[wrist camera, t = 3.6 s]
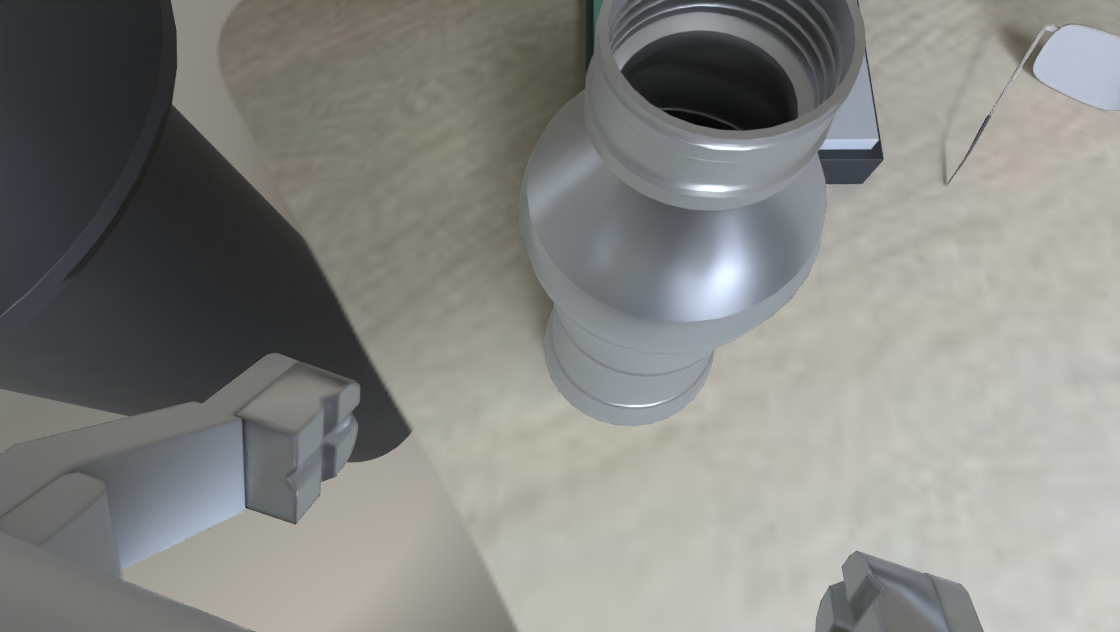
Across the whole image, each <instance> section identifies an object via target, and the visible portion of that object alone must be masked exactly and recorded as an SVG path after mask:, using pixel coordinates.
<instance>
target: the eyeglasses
mask: <svg viewBox="0 0 1120 632" xmlns="http://www.w3.org/2000/svg"><path fill="white" fill-rule="evenodd" d="M1045 30H1048V31H1050V32H1053V34H1052V36H1051V37H1050V38H1049V39H1048V40H1047V42H1046V43H1045V44H1044V46H1043V48H1042V49H1041V51H1040V52H1039V54H1038V56H1037V58H1036V60H1035V62H1034V65H1033V72H1034V74H1035V76H1036V77H1037V78H1038V79H1039V80H1040V81H1042V82H1043V83H1044V84H1046V85H1048V86H1049V87H1051V88H1053V89H1055V90H1057V91H1059V92H1061V93H1063V94H1065V95H1067V96H1069V97H1071V98H1073V99H1076V100H1078V101H1081V102H1083V103H1086V104H1088V105H1091V106H1094V107H1096V108H1099V109H1103V110H1106V111H1120V37H1119V36H1116V35H1114V34H1111V33H1108V32H1105V31H1102V30H1099V29H1096V28H1093V27H1090V26H1086V25H1081V24H1067V25H1064V26H1062V27H1061V28H1060V27H1058V26H1055V25H1052V24H1048V25H1046V26H1044V27H1043V28H1042V29H1041V30H1040V32H1039V33H1038V34H1037V36H1036V37H1035V39H1034V41H1033V42H1032V44H1031V46H1030V47H1029V49H1028V51H1027V52H1026V54H1025V56H1024V57H1023V59H1022V61H1021V62H1020V64H1019V66H1018V67H1017V69H1016V71H1015V72H1014V74H1013V76H1012V77H1011V79H1010V81H1009V82H1008V84H1007V86H1006V87H1005V89H1004V91H1003V92H1002V94H1001V96H1000V97H999V99H998V101H997V102H996V104H995V106H994V107H993V109H992V111H991V112H990V114H989V115H988V116H987V117H986V119H985V121H984V123H983V124H982V126H981V128H980V130H979V132H978V134H977V135H976V137H975V139H974V141H973V143H972V145H971V147H970V149H969V151H968V153H967V154H966V156H965V158H964V159H963V161H962V162H961V164H960V165H959V167H958V168H957V170H956V171H955V173H954V175H955V174H956V173H957V171H958V170H959V169H960V167H961V166H962V164H963V163H964V161H965V160H966V158H967V157H968V155H969V154H970V152H971V151H972V149H973V147H974V146H975V144H976V142H977V141H978V139H979V137H980V135H981V133H982V131H983V130H984V128H985V126H986V125H987V123H988V121H989V119H990V118H991V115H992V113H993V112H994V110H995V109H996V107H997V105H998V104H999V102H1000V101H1001V99H1002V98H1003V96H1004V94H1005V93H1006V91H1007V90H1008V88H1009V87H1010V85H1011V83H1012V82H1013V80H1014V79H1015V77H1016V76H1017V74H1018V72H1019V71H1020V69H1021V68H1022V66H1023V65H1024V63H1025V61H1026V60H1027V58H1028V57H1029V55H1030V54H1031V52H1032V50H1033V49H1034V47H1035V46H1036V44H1037V43H1038V41H1039V39H1040V38H1041V36H1042V35H1043V33H1044V31H1045ZM954 175H953V176H952V178H953V177H954ZM952 178H951V179H950V180H949V182H950V181H951V180H952ZM949 182H948V184H949ZM948 184H947V185H948ZM947 185H946V186H947Z"/></svg>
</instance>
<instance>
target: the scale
mask: <svg viewBox="0 0 1120 632" xmlns="http://www.w3.org/2000/svg"><path fill="white" fill-rule="evenodd" d="M856 2H857V4H858V7H859V3H858V0H856ZM602 3H603V0H586V74H587V71H588V68H589V64H590V61H591V58H592V56H593V54H594V45H595V29H596V22H597V19H598V16H599V12H600V9H601V6H602ZM859 10H860V9H859ZM817 153H818V156H819V160H820V163H821V166H822V170H823V173H824V177H825V184H862V183H863V182H864V181H865V180H866V179H867V178H868V177H869V176H870V174H871V173H872V172H873V171H874V170H875V169H876V168H877V167H878V165H879V164H880V163H881V162H882V161H883V153H882V146H881V140H880V134H879V128H878V122H877V115H876V109H875V103H874V97H873V90H872V84H871V78H870V72H869V65H868V59H867V53H866V47H865V50H864V56H863V62H862V66H861V68H860V70H859V73H858V77H857V79H856V81H855V83H854V86H853V88H852V90H851V92H850V94H849V96H848V97H847V99H846V100H845V101H844V103H843V104H842V106H841V107H840V109H839V110H838V112H837V113H836V114H835V116H834V117H833V119H832V125H831V127H830V130H829V132H828V134H827V136H826V139H825V141H824V143H823V145H822V146H821V148H820V149H819V151H818V152H817Z"/></svg>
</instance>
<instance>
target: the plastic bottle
mask: <svg viewBox="0 0 1120 632" xmlns="http://www.w3.org/2000/svg"><path fill="white" fill-rule="evenodd" d="M865 44H866V41H865V30H864V22H863V19H862V16H861V13H860V10H859V7H858V4H857V2H856V0H603V3H602V6H601V9H600V12H599V16H598V19H597V22H596V29H595V45H594V54H593V56H592V58H591V61H590V64H589V68H588V71H587V74H586V82H585V89H584V90H583V91H581V92H580V93H579V94H577V95H576V96H575V97H573V98H572V99H571V100H569V101H568V102H567V103H566V104H565V105H564V106H563V107H562V108H561V109H560V110H559V111H558V112H557V113H556V114H555V116H554V117H553V118H552V119H551V120H550V121H549V123H548V124H547V126H546V128H545V129H544V131H543V133H542V134H541V136H540V138H539V140H538V141H537V143H536V145H535V148H534V150H533V152H532V154H531V157H530V159H529V161H528V164H527V167H526V170H525V173H524V176H523V179H522V182H521V185H520V195H519V206H518V215H519V222H520V230H521V237H522V240H523V243H524V245H525V248H526V251H527V254H528V256H529V259H530V262H531V264H532V267H533V270H534V272H535V275H536V277H537V278H538V280H539V282H540V283H541V285H542V286H543V288H544V290H545V291H546V293H547V294H548V296H549V297H550V299H551V300H552V301H553V303H554V306H553V308H552V311H551V314H550V317H549V321H548V324H547V327H546V331H545V339H544V353H545V361H546V365H547V368H548V371H549V373H550V376H551V379H552V380H553V382H554V384H555V385H556V387H557V388H558V390H559V392H560V393H561V394H562V395H563V396H564V397H565V398H566V399H567V400H568V401H569V403H570V404H572V405H573V406H574V407H576V408H577V409H578V410H580V411H581V412H583V413H584V414H586V415H588V416H590V417H592V418H594V419H597V420H599V421H602V422H606V423H610V424H614V425H622V426H639V425H646V424H652V423H655V422H658V421H661V420H664V419H667V418H669V417H670V416H672V415H674V414H675V413H677V412H679V411H681V410H682V409H683V408H684V407H685V406H687V405H688V404H689V403H690V402H691V401H692V400H693V399H694V398H695V397H696V395H697V394H698V393H699V391H700V390H701V389H702V387H703V385H704V383H705V381H706V379H707V377H708V374H709V372H710V369H711V366H712V362H713V357H714V352H715V348H718V347H720V346H722V345H724V344H726V343H729V342H731V341H734V340H735V339H737V338H739V337H741V336H742V335H744V334H746V333H748V332H749V331H751V330H753V329H755V328H756V327H758V326H759V325H760V324H762V323H763V322H764V321H766V320H767V319H769V318H770V317H771V316H773V315H774V314H775V313H776V312H777V311H778V310H779V309H780V308H782V307H783V306H784V305H785V304H786V303H787V302H788V301H789V300H791V299H792V298H793V296H794V295H795V293H796V292H797V291H798V289H799V288H800V287H801V285H802V284H803V282H804V281H805V280H806V278H807V277H808V275H809V273H810V271H811V268H812V266H813V264H814V261H815V259H816V257H817V254H818V252H819V248H820V242H821V236H822V230H823V224H824V218H825V212H826V206H827V201H826V184H825V177H824V173H823V170H822V166H821V163H820V160H819V156H818V153H817V152H818V151H819V149H820V148H821V146H822V145H823V143H824V141H825V139H826V136H827V134H828V132H829V130H830V127H831V125H832V119H833V117H834V116H835V114H836V113H837V112H838V110H839V109H840V107H841V106H842V104H843V103H844V101H845V100H846V99H847V97H848V96H849V94H850V92H851V90H852V88H853V86H854V83H855V81H856V79H857V77H858V73H859V70H860V68H861V66H862V62H863V56H864V50H865Z"/></svg>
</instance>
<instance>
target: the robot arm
mask: <svg viewBox="0 0 1120 632" xmlns="http://www.w3.org/2000/svg"><path fill="white" fill-rule="evenodd" d="M359 403H360V386H359V384H358V383H357V382H356V381H353V380H351V379H348V378H345V377H342V376H340V375H337V374H334V373H331V372H329V371H326V370H323V369H320V368H318V367H315V366H312V365H310V364H307V363H304V362H299V361H297V360H294V359H291V358H289V357H286V356H283V355H280V354H278V353H273V354H268V355H266V356H265V357H263V358H262V359H261V360H259V361H258V362H257V363H255V364H254V365H253V366H251V367H250V368H249V369H247V370H246V371H245V372H244V373H242V374H241V375H240V376H238V377H237V378H236V379H234V380H233V381H232V382H230V383H229V384H228V385H226V386H225V387H224V388H223V389H221V390H220V391H219V392H217V393H216V394H215V395H213V396H212V397H211V398H209V399H208V400H207V401H206V402H204V403H203V404H200V403H197V402H194V401H192V402H188V403H184V404H180V405H176V406H172V407H168V408H163V409H159V410H155V411H151V412H147V413H143V414H139V415H134V416H130V417H126V418H122V419H118V420H114V421H110V422H105V423H101V424H97V425H94V426H89V427H85V428H81V429H76V430H72V431H68V432H64V433H60V434H56V435H52V436H48V437H43V438H39V439H35V440H31V441H27V442H23V443H19V444H15V445H13V446H11V447H9V448H8V449H6V450H5V451H3V452H2V453H0V632H255V631H252V630H250V629H247V628H245V627H242V626H239V625H237V624H235V623H232V622H230V621H227V620H224V619H222V618H219V617H217V616H214V615H212V614H209V613H207V612H204V611H201V610H199V609H196V608H194V607H191V606H189V605H186V604H184V603H181V602H178V601H176V600H173V599H171V598H168V597H166V596H163V595H160V594H158V593H155V592H153V591H150V590H148V589H145V588H143V587H140V586H138V585H135V584H133V583H130V582H127V581H125V580H124V579H123V573H122V570H123V569H125V568H127V567H129V566H131V565H134V564H136V563H138V562H140V561H142V560H144V559H146V558H148V557H150V556H152V555H154V554H157V553H159V552H161V551H163V550H165V549H167V548H169V547H171V546H173V545H175V544H177V543H179V542H181V541H183V540H186V539H188V538H190V537H192V536H194V535H196V534H198V533H200V532H202V531H204V530H206V529H209V528H211V527H213V526H215V525H217V524H219V523H221V522H223V521H225V520H227V519H229V518H232V517H234V516H236V515H238V514H240V513H242V512H244V511H245V508H247V509H250V510H253V511H256V512H260V513H262V514H266V515H269V516H271V517H275V518H277V519H281V520H283V521H286V522H290V523H292V524H297V522H298V521H299V520H300V519H301V518H302V516H303V515H304V514H305V513H306V512H307V510H308V509H309V508H310V507H311V506H312V504H313V503H314V502H315V501H316V500H317V498H318V497H319V496H320V489H321V482H323V481H325V480H328V479H331V478H333V477H336V476H337V474H338V473H339V472H340V470H341V469H342V468H343V467H344V465H345V464H346V462H347V460H348V458H349V456H350V454H351V452H352V450H353V448H354V444H355V441H356V437H357V429H358V423H357V421H356V419H355V417H354V416H353V414H352V412H351V411H352V410H353V409H354V408H355V407H356V406H357V405H358V404H359ZM842 572H843V577H844V581H842V582H839V583H837V584H834V585H831V586H829V588H828V589H827V591H826V593H825V595H824V596H823V598H822V600H821V602H820V605H819V609H818V613H817V617H816V629H815V632H984V631H983V629H982V626H981V624H980V621H979V619H978V616H977V614H976V611H975V609H974V606H973V604H972V601H971V599H970V596H969V594H968V592H967V590H966V589H965V588H964V587H963V586H962V585H961V584H959V583H956V582H953V581H950V580H947V579H944V578H940V577H937V576H934V575H931V574H928V573H922V572H919V571H916V570H913V569H910V568H907V567H904V566H901V565H898V564H895V563H892V562H889V561H886V560H883V559H880V558H877V557H874V556H871V555H868V554H865V553H862V552H859V551H856V552H854V553H853V554H851V555H850V556H849V557H848V558H847V560H846V561H845V563H844V564H843V566H842Z"/></svg>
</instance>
